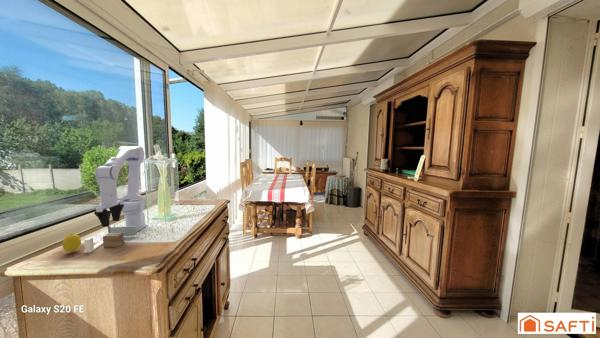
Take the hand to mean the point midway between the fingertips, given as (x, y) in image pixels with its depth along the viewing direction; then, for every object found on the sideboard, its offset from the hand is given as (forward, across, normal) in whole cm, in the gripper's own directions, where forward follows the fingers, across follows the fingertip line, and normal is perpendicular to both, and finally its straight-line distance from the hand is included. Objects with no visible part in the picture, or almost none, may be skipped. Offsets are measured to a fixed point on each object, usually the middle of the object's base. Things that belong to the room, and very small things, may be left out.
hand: (111, 223), depth 103 cm
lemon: (+10, +5, -12) cm, 16 cm away
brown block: (+10, 0, 0) cm, 10 cm away
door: (+9, -9, 0) cm, 13 cm away
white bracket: (+10, -3, -6) cm, 12 cm away
